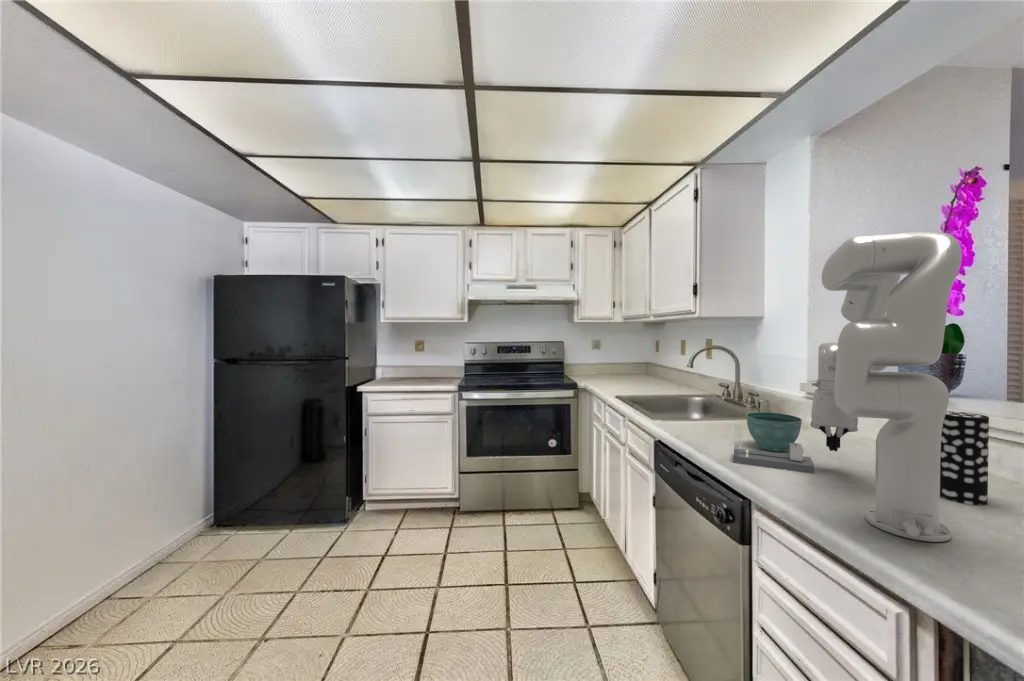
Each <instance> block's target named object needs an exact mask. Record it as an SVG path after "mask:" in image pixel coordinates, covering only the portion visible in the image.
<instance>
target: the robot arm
mask: <svg viewBox="0 0 1024 681" xmlns="http://www.w3.org/2000/svg"><path fill="white" fill-rule="evenodd" d="M962 252H963V251H962V247H961V244H960V242H959V241H958V239H957V238H956V237H955V236H953V235H951V234H950V233H947V232H943V231H942V232H941V231H927V230H925V231H907V232H893V233H881V234H867V235H866V234H865V235H857V236H853V237H850V238H849V239H846V240H845V241H844V242H843V243H842V244H841V245H840V246H839V247H838V248H837V249H835V250H834V252H832V254H830V256H829V258H828V259H827V260H826V261H825V264H824V265H823V268H822V271H821V283H822V286H823V287H824V289H825V290H827V291H831V292H838V291H839V292H841V291H842V292H844V291H845V292H846V294H845V297H844V299H843V303H842V306H841V308H840V313H841V315H842V316H843V318H844V319H846V320H847V321H849V323H848V322H847V324H845V325H844V327H843V328H842V329H841V331H840V333H839V336H838V340H837V342H824V343H821V344H819V346H818V354H817V355H818V358H817V364H818V365H817V366H818V367H817V380H815V381H814V380H811V386H813V387H816V388H815V390H814V393H813V398H812V402H811V403H812V404H811V422H810V428H813V429H817V430H820V431H821V432H822V433H823V434H824V435H826V437H825V438H826V440H825V442H826V444H825V445H826V448H828V449H829V451H830V452H833V451H834V452H838V450H839V449H841V438H842V437H843V436H844V435H846V434H848V433H854V432H856V433H857V432H858V431H859V430H858V425H859V424H858V423H859V418H864V419H865V418H867V419H887V420H888V421H887V422H885V424H884V425H882V427H881V428H880V429H879V431H878V433H877V435H876V439H875V473H874V474H875V480H874V481H875V483H874V484H875V485H874V488H875V489H874V492H875V493H874V496H875V497H874V508H872V509H871V508H870V509H868V510H866V511H865V514H864V516H865V517H864V518H865V520H866V521H867V522H868V523H869V524H870V525H872V526H874V527H876V528H877V529H880V530H882V531H883V532H886V533H889V534H893V535H895V536H899V537H903V538H905V539H911V540H915V541H921V542H929V543H930V542H931V543H932V542H933V543H939V542H940V543H942V542H947V541H949V540H951V537H952V531H951V530H950V528H948V527H947V526H945V525H944V524H943V523H941V522H940V519H941V518H940V515H941V513H940V512H941V507H940V506H941V497H940V457H941V435H942V427H943V422H944V418H945V414H946V411H947V410H948V407H949V403H950V393H949V389H948V386H947V385H946V384H945V383H944V382H943V381H942V380H941V379H939V378H938V377H936V376H933V375H932V374H927V373H922V372H914V371H913V372H910V371H884V370H885V369H886V368H888V367H899V368H900V367H904V368H905V367H913V368H914V367H927V366H930V365H933V364H935V363H937V362H938V360H939V359H940V357H941V356H942V355H941V354H942V351H943V347H944V340H945V332H946V322H947V320H946V319H947V314H948V312H947V311H948V302H949V295H950V294H951V290H952V287H953V285H954V283H955V281H956V279H957V276H958V274H959V272H960V268H961V264H962V260H963V258H962V257H963V254H962ZM902 275H905V276H904V277H903V278H902V279H901V276H902ZM900 279H901V280H900ZM831 428H835V432H834V433H832V429H831Z"/></svg>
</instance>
